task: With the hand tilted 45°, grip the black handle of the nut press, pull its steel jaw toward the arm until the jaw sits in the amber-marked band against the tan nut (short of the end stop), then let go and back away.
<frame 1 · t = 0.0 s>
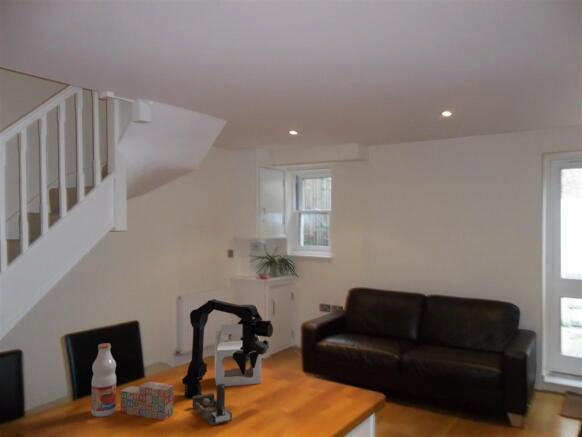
hand: (248, 371, 202), 15 cm above the table, tool pointing down, fingers open, 9 cm apart
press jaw: (220, 401, 184), point 8 cm above the table, slide at 0.0 cm
press base: (220, 422, 184), on the table
stack of blocks: (146, 414, 192), on the table
fruit juice: (103, 413, 193), on the table
gable box: (237, 381, 233), on the table
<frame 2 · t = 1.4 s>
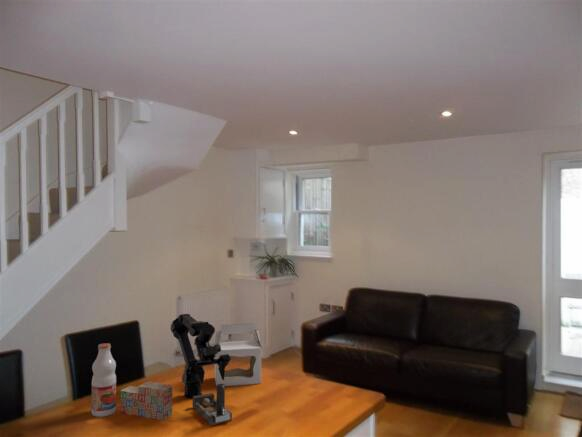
hand: (213, 381, 191), 14 cm above the table, tool tilted 45°, fingers open, 9 cm apart
nothing on the table moved.
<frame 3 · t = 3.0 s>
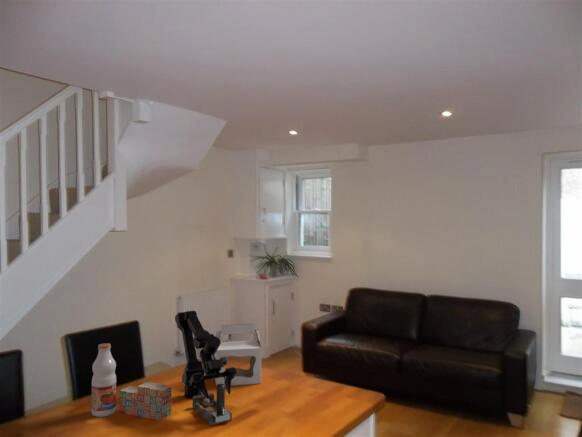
hand: (219, 396, 186), 10 cm above the table, tool tilted 45°, fingers open, 9 cm apart
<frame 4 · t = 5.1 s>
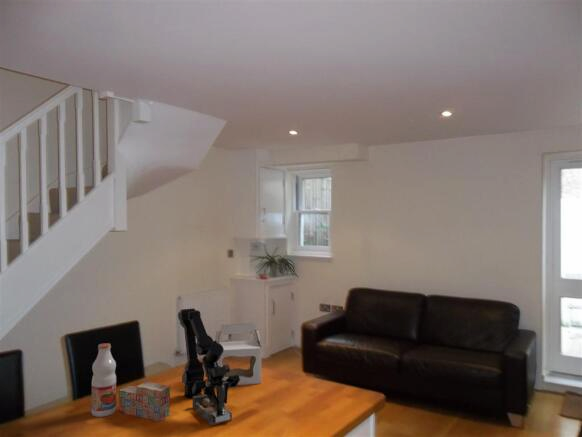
hand: (221, 404, 183), 8 cm above the table, tool tilted 45°, fingers closed on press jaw, 3 cm apart
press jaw: (220, 401, 184), point 8 cm above the table, slide at 0.0 cm, touching gripper
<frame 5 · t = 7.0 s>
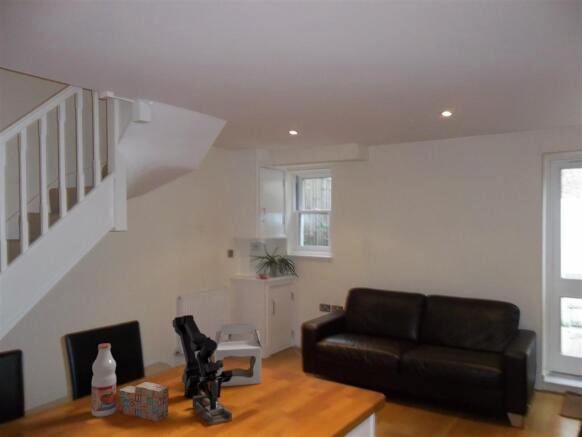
hand: (215, 398, 189), 8 cm above the table, tool tilted 45°, fingers closed on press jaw, 3 cm apart
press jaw: (214, 396, 190), point 8 cm above the table, slide at 6.9 cm, touching gripper
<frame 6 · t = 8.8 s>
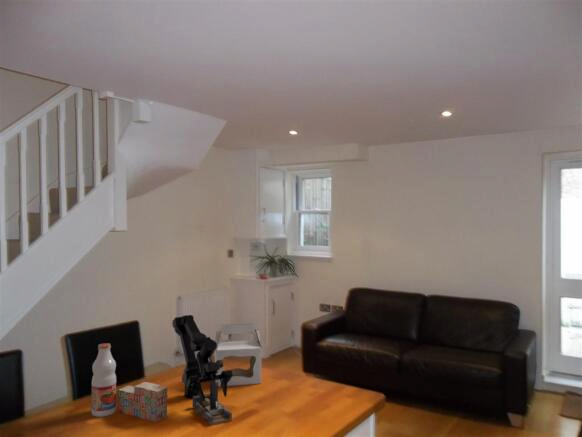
hand: (215, 398, 189), 8 cm above the table, tool tilted 45°, fingers open, 9 cm apart
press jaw: (213, 396, 190), point 8 cm above the table, slide at 7.0 cm
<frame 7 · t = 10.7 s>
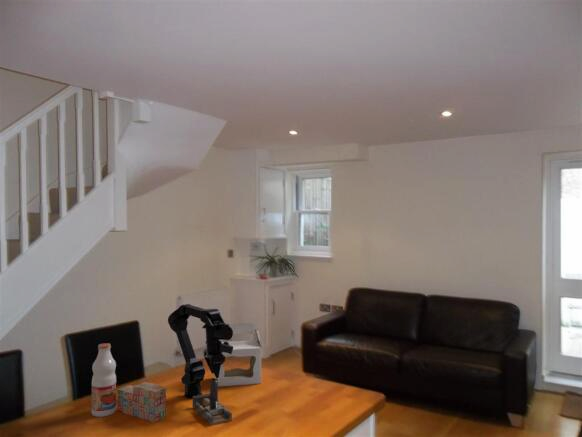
hand: (215, 375, 202), 13 cm above the table, tool pointing down, fingers open, 9 cm apart
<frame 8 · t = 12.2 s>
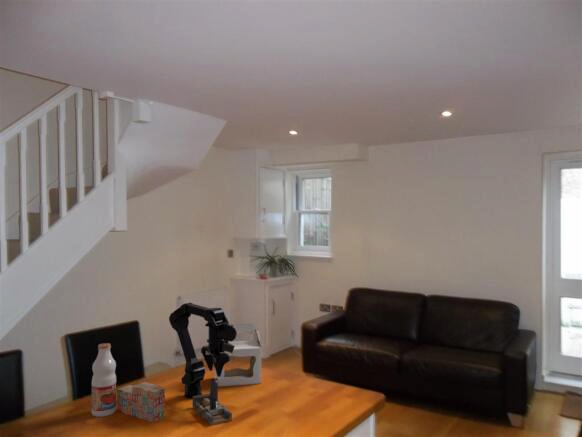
hand: (214, 373, 203), 13 cm above the table, tool pointing down, fingers open, 9 cm apart
at the end: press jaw slide at 7.0 cm; the gripper is holding nothing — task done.
